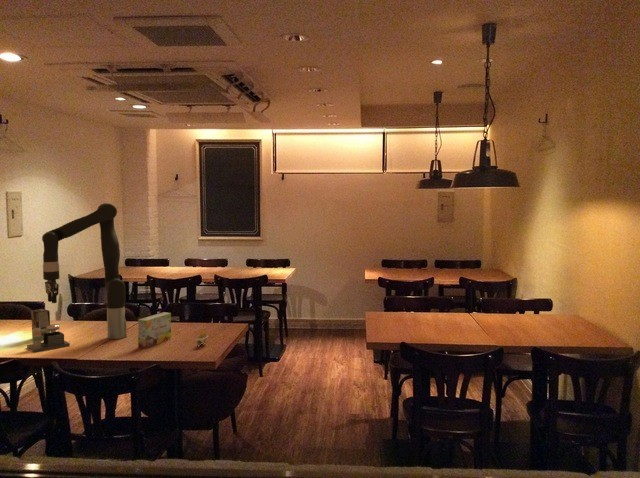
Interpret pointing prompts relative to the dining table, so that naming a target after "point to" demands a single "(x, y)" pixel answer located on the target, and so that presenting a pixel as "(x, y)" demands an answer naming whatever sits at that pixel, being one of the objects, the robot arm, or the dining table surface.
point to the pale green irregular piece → (201, 339)
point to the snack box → (154, 329)
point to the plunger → (50, 328)
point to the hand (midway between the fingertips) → (52, 302)
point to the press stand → (47, 341)
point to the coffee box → (40, 320)
